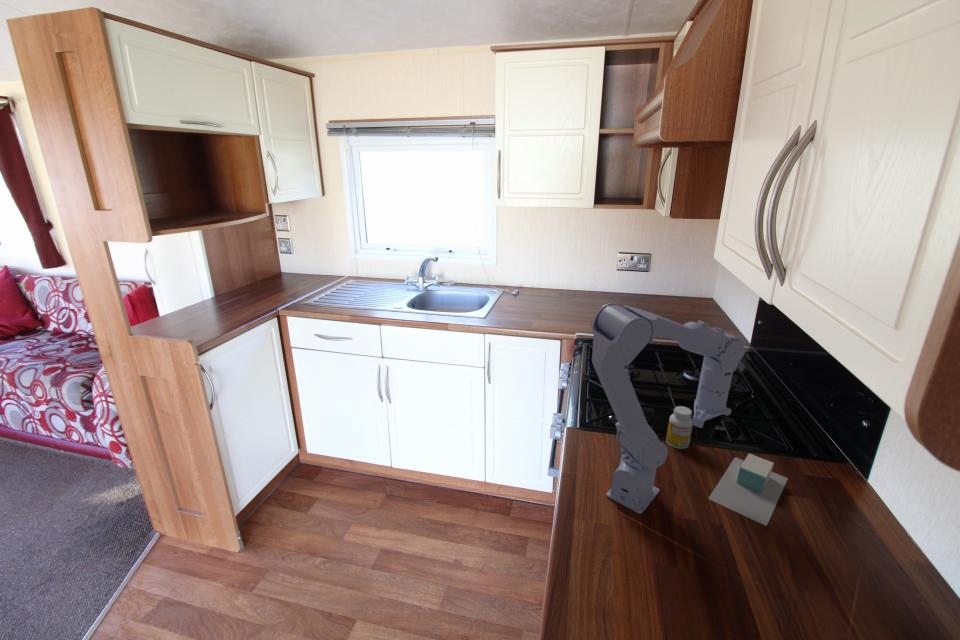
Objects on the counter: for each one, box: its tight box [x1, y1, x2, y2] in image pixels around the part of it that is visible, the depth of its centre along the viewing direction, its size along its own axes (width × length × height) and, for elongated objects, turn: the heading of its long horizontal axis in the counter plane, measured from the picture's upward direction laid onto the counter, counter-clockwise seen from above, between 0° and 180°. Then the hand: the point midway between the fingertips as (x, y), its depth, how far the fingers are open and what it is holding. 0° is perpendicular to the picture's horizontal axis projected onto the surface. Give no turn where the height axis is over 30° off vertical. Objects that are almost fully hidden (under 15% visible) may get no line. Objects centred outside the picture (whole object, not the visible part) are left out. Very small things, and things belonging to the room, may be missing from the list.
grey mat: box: [707, 457, 789, 527], centre depth 100 cm, size 19×11×1 cm, turn 137°
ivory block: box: [736, 453, 774, 493], centre depth 101 cm, size 4×5×7 cm
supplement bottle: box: [665, 405, 694, 450], centre depth 114 cm, size 5×5×10 cm
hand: (702, 440), depth 100 cm, fingers closed
